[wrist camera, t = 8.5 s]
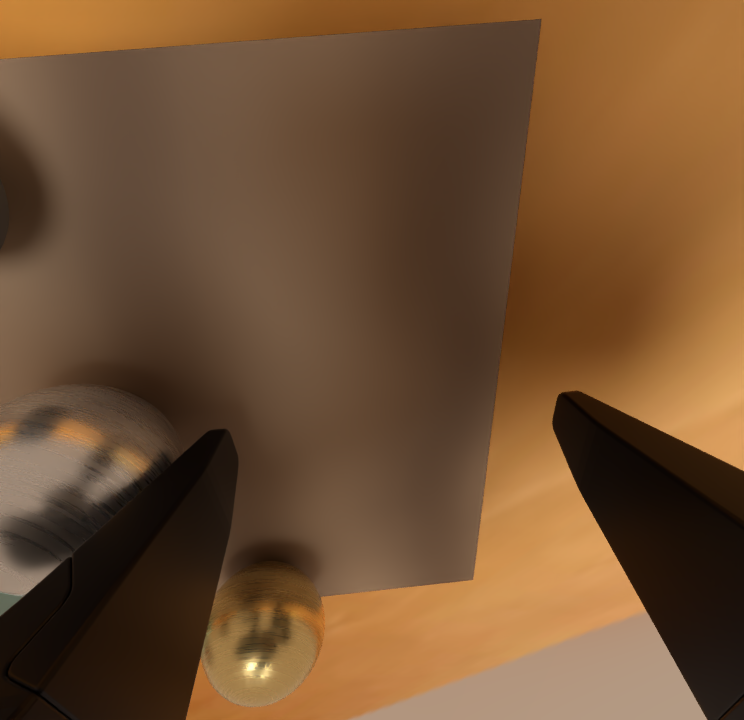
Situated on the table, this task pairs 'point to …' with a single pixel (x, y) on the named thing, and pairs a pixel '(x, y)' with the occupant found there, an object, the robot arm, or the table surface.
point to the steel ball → (71, 471)
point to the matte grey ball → (3, 215)
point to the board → (283, 271)
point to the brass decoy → (263, 634)
